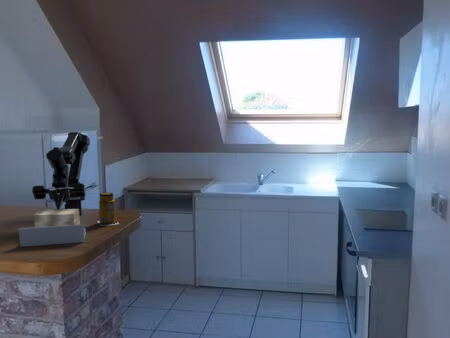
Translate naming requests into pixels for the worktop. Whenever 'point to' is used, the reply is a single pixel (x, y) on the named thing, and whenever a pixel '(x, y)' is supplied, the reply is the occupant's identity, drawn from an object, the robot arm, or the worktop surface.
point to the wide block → (56, 217)
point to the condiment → (107, 209)
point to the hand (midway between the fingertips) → (58, 209)
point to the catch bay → (52, 235)
